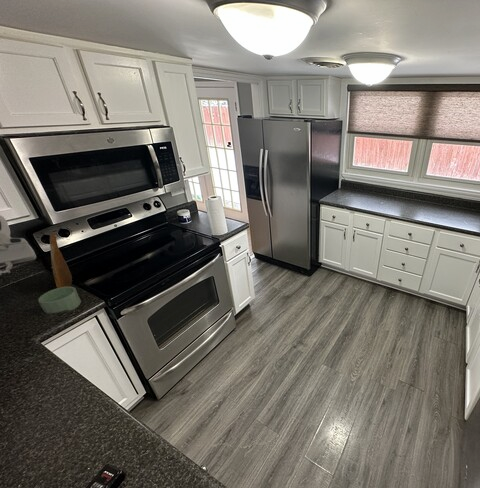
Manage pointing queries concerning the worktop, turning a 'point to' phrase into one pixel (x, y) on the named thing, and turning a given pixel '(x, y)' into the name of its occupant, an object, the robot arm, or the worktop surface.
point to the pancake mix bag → (59, 265)
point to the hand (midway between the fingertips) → (4, 273)
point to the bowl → (60, 300)
